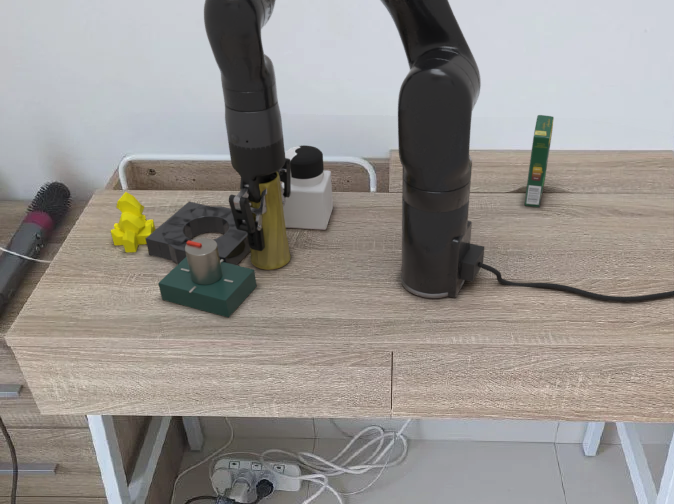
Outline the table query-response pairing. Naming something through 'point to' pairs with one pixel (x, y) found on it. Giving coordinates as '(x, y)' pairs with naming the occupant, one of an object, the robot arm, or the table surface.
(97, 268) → the table surface
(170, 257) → the square flange with hole
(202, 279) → the grey rotary knob
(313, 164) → the medicine bottle
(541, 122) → the coffee box
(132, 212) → the yellow faceted cluster
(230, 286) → the panel
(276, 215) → the vase
